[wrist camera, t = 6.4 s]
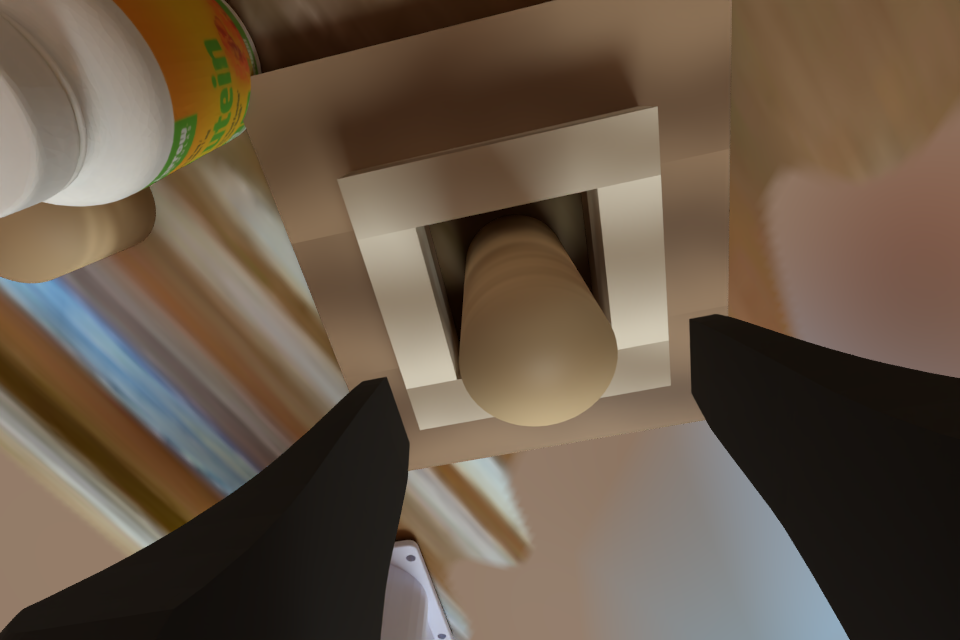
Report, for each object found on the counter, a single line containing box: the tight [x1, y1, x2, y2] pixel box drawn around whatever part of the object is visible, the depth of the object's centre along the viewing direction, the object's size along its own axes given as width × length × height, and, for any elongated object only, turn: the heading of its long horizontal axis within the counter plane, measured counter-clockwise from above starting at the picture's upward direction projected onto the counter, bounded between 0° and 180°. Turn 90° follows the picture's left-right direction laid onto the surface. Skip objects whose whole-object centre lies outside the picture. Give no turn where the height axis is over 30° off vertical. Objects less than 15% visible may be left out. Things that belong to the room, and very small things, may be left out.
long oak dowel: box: [459, 215, 618, 426], centre depth 15 cm, size 4×4×8 cm
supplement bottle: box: [0, 0, 262, 218], centre depth 12 cm, size 5×5×10 cm
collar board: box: [243, 0, 732, 471], centre depth 18 cm, size 17×16×3 cm
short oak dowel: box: [0, 186, 156, 283], centre depth 16 cm, size 4×4×4 cm
